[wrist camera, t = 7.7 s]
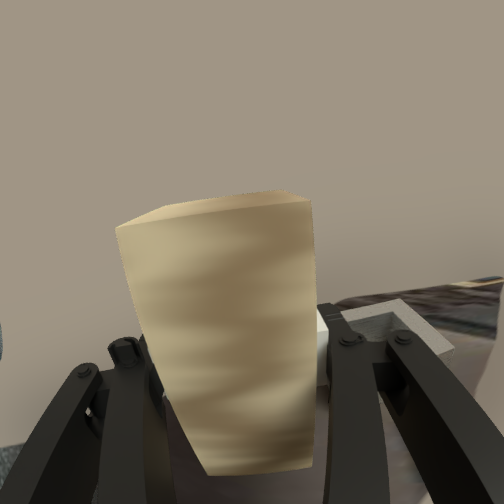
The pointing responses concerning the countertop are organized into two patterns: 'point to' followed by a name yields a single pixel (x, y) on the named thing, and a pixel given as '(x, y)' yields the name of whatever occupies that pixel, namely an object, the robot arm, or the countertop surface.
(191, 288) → the upright pine post
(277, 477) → the countertop surface
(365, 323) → the grey square frame block
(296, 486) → the countertop surface
